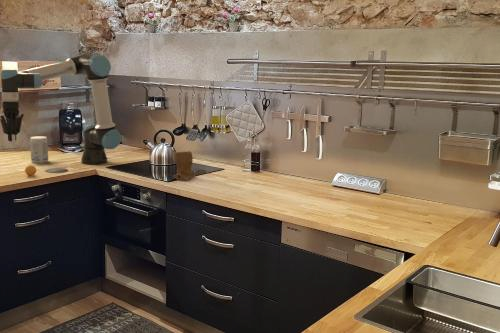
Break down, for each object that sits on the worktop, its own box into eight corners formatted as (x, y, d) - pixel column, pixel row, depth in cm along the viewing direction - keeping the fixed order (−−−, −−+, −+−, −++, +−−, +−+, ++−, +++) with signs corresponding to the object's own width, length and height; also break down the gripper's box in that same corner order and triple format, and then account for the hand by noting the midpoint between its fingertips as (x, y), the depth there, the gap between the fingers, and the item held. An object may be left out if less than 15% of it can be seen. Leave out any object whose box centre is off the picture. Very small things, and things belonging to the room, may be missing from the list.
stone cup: (181, 174, 295) (181, 148, 292) (199, 177, 290) (200, 150, 287) (166, 179, 281) (167, 152, 278) (186, 182, 277) (186, 154, 274)
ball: (35, 174, 280) (35, 164, 278) (37, 176, 275) (36, 166, 274) (24, 174, 277) (24, 164, 276) (25, 176, 272) (25, 166, 271)
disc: (66, 167, 298) (66, 167, 298) (69, 172, 288) (69, 171, 288) (43, 169, 293) (43, 168, 293) (46, 173, 282) (46, 173, 282)
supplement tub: (45, 159, 318) (44, 135, 315) (50, 162, 311) (49, 137, 308) (28, 161, 312) (27, 136, 309) (33, 163, 305) (32, 138, 302)
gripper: (3, 101, 252) (5, 149, 257) (26, 100, 263) (28, 146, 268) (-7, 100, 256) (-4, 148, 260) (17, 99, 267) (19, 145, 272)
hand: (12, 147), depth 264 cm, fingers closed
